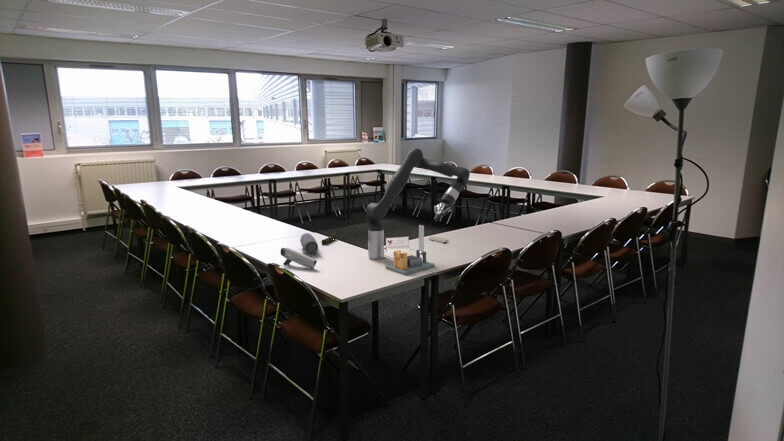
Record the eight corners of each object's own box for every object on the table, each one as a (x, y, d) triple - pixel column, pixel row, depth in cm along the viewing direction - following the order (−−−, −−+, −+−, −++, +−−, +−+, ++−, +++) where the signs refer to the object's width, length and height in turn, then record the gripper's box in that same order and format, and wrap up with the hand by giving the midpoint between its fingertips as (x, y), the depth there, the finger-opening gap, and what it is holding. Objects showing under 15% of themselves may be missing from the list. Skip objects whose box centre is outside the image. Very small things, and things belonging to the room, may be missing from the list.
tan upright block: (399, 265, 259) (399, 250, 257) (407, 268, 254) (407, 252, 252) (393, 267, 256) (393, 251, 254) (401, 269, 251) (401, 253, 249)
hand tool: (326, 245, 310) (326, 238, 309) (321, 245, 311) (321, 238, 311) (340, 239, 327) (339, 232, 326) (335, 238, 329) (334, 232, 328)
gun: (281, 261, 271) (283, 245, 268) (314, 276, 261) (317, 260, 258) (278, 262, 269) (280, 246, 266) (312, 277, 259) (314, 261, 256)
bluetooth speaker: (299, 247, 305) (298, 233, 303) (313, 246, 307) (313, 231, 305) (304, 256, 283) (303, 241, 281) (319, 255, 286) (318, 239, 284)
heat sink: (411, 261, 266) (411, 254, 266) (422, 264, 260) (422, 258, 259) (399, 264, 261) (399, 257, 260) (410, 268, 254) (410, 261, 253)
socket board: (415, 260, 273) (415, 247, 272) (434, 266, 262) (435, 252, 260) (385, 268, 259) (385, 254, 257) (404, 275, 247) (404, 260, 245)
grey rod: (420, 253, 266) (420, 224, 263) (424, 254, 264) (424, 225, 260) (418, 254, 265) (418, 225, 261) (422, 255, 263) (422, 226, 259)
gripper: (461, 202, 270) (446, 225, 265) (444, 199, 280) (430, 222, 275) (455, 194, 266) (440, 218, 260) (438, 192, 276) (424, 214, 270)
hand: (435, 220), depth 268 cm, fingers closed
